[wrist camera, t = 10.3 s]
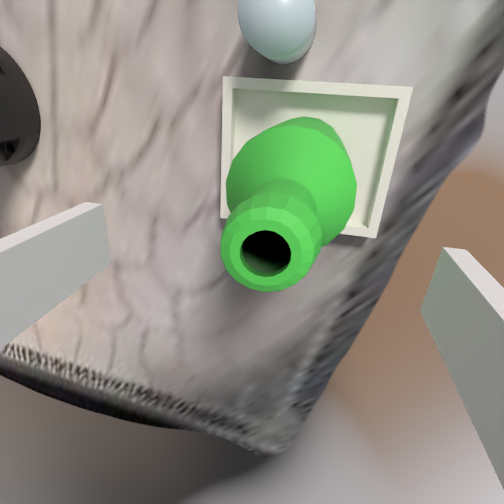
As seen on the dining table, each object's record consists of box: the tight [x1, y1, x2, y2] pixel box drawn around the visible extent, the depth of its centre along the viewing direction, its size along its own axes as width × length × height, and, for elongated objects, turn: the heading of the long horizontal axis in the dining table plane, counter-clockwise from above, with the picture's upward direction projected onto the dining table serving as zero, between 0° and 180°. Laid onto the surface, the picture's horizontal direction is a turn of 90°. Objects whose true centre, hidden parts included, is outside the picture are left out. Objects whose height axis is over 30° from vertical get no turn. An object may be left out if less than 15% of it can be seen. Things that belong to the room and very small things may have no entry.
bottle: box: [221, 116, 357, 292], centre depth 24 cm, size 9×9×25 cm
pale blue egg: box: [238, 0, 316, 64], centre depth 28 cm, size 6×6×7 cm
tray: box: [220, 76, 413, 238], centre depth 35 cm, size 18×15×2 cm
